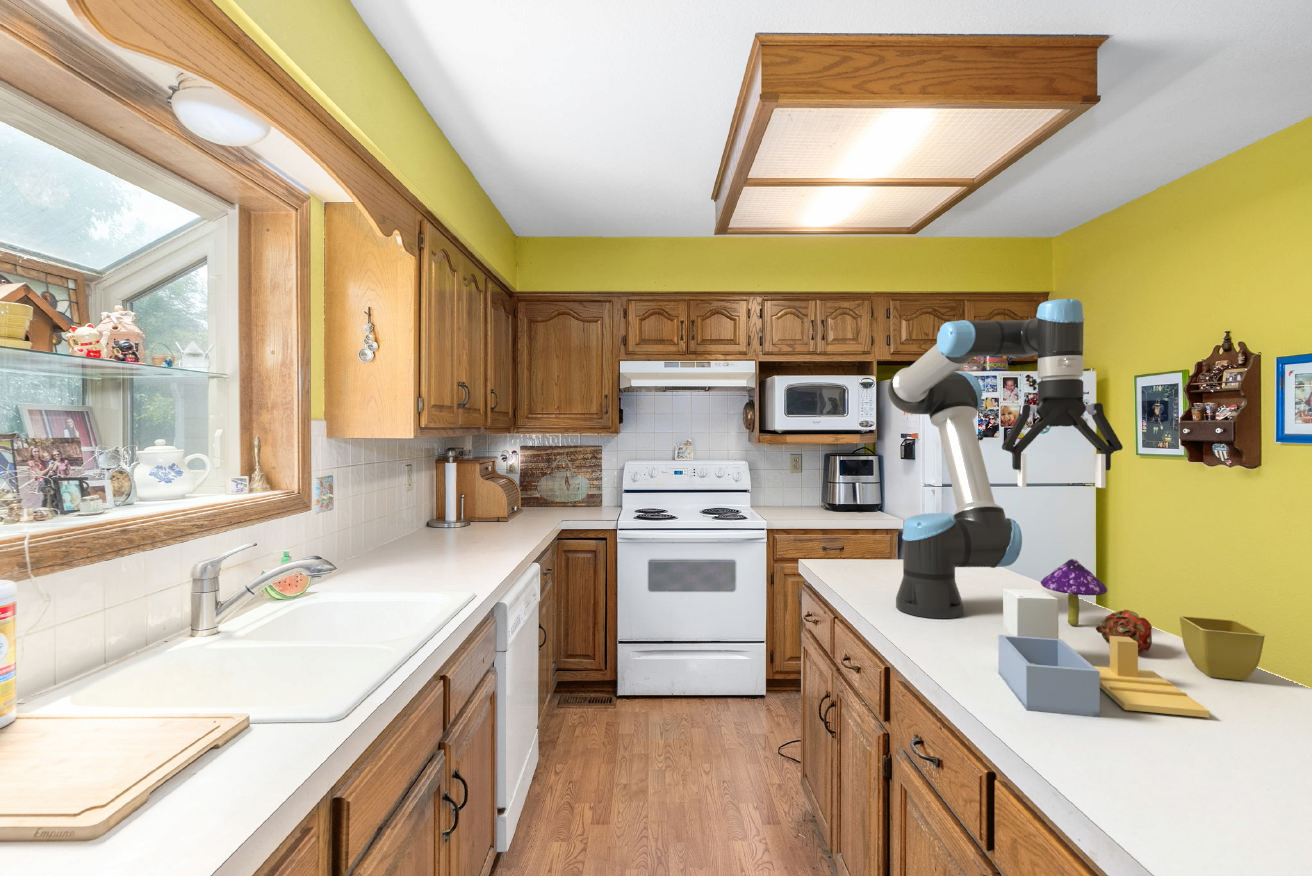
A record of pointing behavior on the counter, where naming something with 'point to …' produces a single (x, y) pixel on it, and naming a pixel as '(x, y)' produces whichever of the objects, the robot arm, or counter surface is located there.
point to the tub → (1049, 675)
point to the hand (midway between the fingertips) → (1060, 487)
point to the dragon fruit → (1127, 628)
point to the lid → (1142, 684)
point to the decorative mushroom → (1073, 585)
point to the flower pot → (1222, 646)
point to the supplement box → (1030, 613)
